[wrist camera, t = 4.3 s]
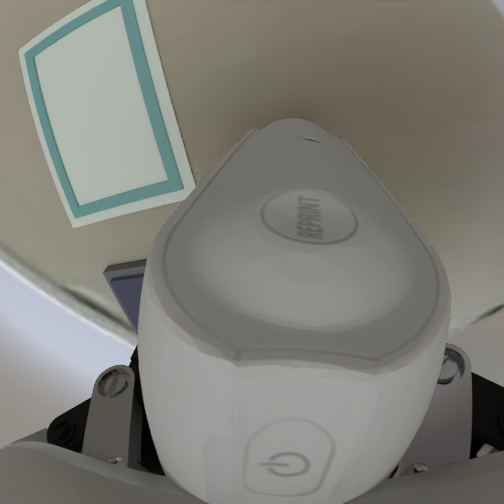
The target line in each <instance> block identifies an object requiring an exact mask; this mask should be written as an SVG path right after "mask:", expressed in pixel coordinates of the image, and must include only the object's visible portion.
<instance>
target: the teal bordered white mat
mask: <svg viewBox="0 0 504 504" xmlns="http://www.w3.org/2000/svg"><path fill="white" fill-rule="evenodd" d="M18 51H19V57H20V62H21V67H22V72H23V77H24V82H25V86H26V91H27V95H28V99H29V103H30V107H31V111H32V114H33V118H34V122H35V125H36V129H37V132H38V135H39V138H40V142H41V145H42V148H43V151H44V154H45V157H46V160H47V163H48V166H49V168H50V171H51V174H52V177H53V179H54V182H55V185H56V187H57V190H58V193H59V195H60V198H61V200H62V203H63V205H64V207H65V210H66V212H67V215H68V217H69V219H70V222H71V224H72V226H73V228H77V227H80V226H84V225H87V224H91V223H95V222H98V221H102V220H106V219H109V218H113V217H117V216H121V215H125V214H129V213H132V212H136V211H140V210H145V209H149V208H153V207H157V206H161V205H165V204H170V203H174V202H178V201H183V200H185V199H186V198H187V197H188V196H189V194H190V193H191V192H192V191H193V189H194V188H195V187H196V183H195V180H194V176H193V173H192V170H191V166H190V163H189V160H188V156H187V153H186V149H185V146H184V143H183V139H182V136H181V132H180V129H179V125H178V122H177V118H176V114H175V111H174V107H173V104H172V100H171V96H170V93H169V89H168V85H167V82H166V78H165V74H164V70H163V67H162V63H161V59H160V55H159V51H158V47H157V43H156V39H155V35H154V31H153V27H152V23H151V19H150V15H149V11H148V7H147V3H146V0H92V1H90V2H88V3H87V4H85V5H83V6H82V7H80V8H78V9H77V10H75V11H73V12H72V13H70V14H68V15H67V16H65V17H64V18H62V19H61V20H59V21H58V22H56V23H55V24H53V25H52V26H50V27H49V28H47V29H46V30H45V31H43V32H42V33H40V34H39V35H38V36H36V37H35V38H34V39H32V40H31V41H30V42H28V43H27V44H26V45H25V46H23V47H22V48H21V49H20V50H18Z"/></svg>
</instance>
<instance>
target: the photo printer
mask: <svg viewBox="0 0 504 504" xmlns="http://www.w3.org/2000/svg"><path fill="white" fill-rule="evenodd" d="M450 314H451V292H450V287H449V282H448V277H447V272H446V270H445V268H444V266H443V264H442V262H441V260H440V258H439V256H438V254H437V253H436V251H435V250H434V248H433V247H432V245H431V244H430V243H429V242H428V240H427V239H426V238H425V236H424V235H423V233H422V232H421V231H420V229H419V228H418V227H417V225H416V224H415V223H414V221H413V220H412V219H411V218H410V216H409V215H408V214H407V212H406V211H405V210H404V209H403V207H402V206H401V205H400V203H399V202H398V201H397V199H396V198H395V197H394V196H393V195H392V193H391V192H390V191H389V190H388V189H387V187H386V186H385V185H384V184H383V183H382V181H381V180H380V179H379V178H378V177H377V176H376V174H375V173H374V172H373V171H372V170H371V169H370V168H369V166H368V165H367V164H366V163H365V162H364V161H363V160H362V158H361V157H360V156H359V155H358V154H357V153H356V152H355V151H354V150H353V148H352V147H351V146H350V145H349V144H348V143H347V142H346V141H345V140H344V139H343V138H342V137H340V136H332V135H330V134H329V133H328V132H327V131H326V130H325V129H323V128H322V127H321V126H319V125H317V124H316V123H313V122H311V121H308V120H305V119H298V118H287V119H281V120H278V121H275V122H273V123H271V124H269V125H267V126H266V127H264V128H263V129H256V128H254V129H251V130H249V131H248V132H247V133H246V134H245V135H244V136H243V137H242V138H241V139H240V140H239V141H238V142H237V143H236V144H235V145H234V146H233V147H232V148H231V149H230V150H229V151H228V152H227V153H226V154H225V155H224V156H223V157H222V159H221V160H220V161H219V162H218V163H217V164H216V165H215V166H214V167H213V168H212V169H211V170H210V171H209V172H208V173H207V175H206V176H205V177H204V178H203V179H202V180H201V181H200V182H199V184H198V185H197V186H196V187H195V188H194V189H193V191H192V192H191V193H190V194H189V196H188V197H187V198H186V199H185V200H184V202H183V203H182V204H181V205H180V206H179V207H178V209H177V210H176V211H175V212H174V213H173V214H172V215H171V217H170V218H169V219H168V220H167V221H166V222H165V224H164V225H163V226H162V228H161V229H160V231H159V233H158V234H157V236H156V238H155V240H154V242H153V244H152V246H151V248H150V250H149V252H148V256H147V262H146V267H145V273H144V278H143V285H142V292H141V299H140V309H139V320H138V358H139V373H140V379H141V386H142V394H143V400H144V407H145V411H146V415H147V420H148V423H149V427H150V431H151V435H152V439H153V442H154V445H155V448H156V451H157V454H158V458H159V461H160V463H161V465H162V468H163V470H164V473H165V475H166V477H169V478H170V479H171V480H172V481H173V482H174V483H175V484H176V485H178V486H179V487H180V488H181V489H183V490H185V491H186V492H188V493H190V494H191V495H193V496H195V497H197V498H199V499H201V500H203V501H205V502H207V503H209V504H342V503H345V502H347V501H350V500H352V499H355V498H357V497H359V496H361V495H363V494H365V493H367V492H369V491H370V490H372V489H374V488H375V487H376V486H378V485H379V484H381V483H382V482H383V481H384V480H385V479H387V478H388V477H389V476H390V474H391V473H392V472H393V470H394V469H395V467H396V466H397V465H398V463H399V461H400V460H401V458H402V457H403V455H404V454H405V452H406V450H407V449H408V447H409V445H410V444H411V442H412V440H413V438H414V436H415V434H416V433H417V431H418V429H419V427H420V425H421V423H422V421H423V419H424V416H425V414H426V412H427V409H428V407H429V404H430V402H431V399H432V396H433V393H434V390H435V387H436V384H437V381H438V378H439V374H440V371H441V367H442V363H443V358H444V352H445V347H446V341H447V335H448V328H449V321H450Z"/></svg>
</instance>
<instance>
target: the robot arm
mask: <svg viewBox="0 0 504 504" xmlns="http://www.w3.org/2000/svg"><path fill="white" fill-rule="evenodd" d="M0 504H209V503H207V502H205V501H203V500H201V499H199V498H197V497H195V496H193V495H191V494H190V493H188V492H186V491H185V490H183V489H181V488H180V487H179V486H178V485H176V484H175V483H174V482H173V481H172V480H171V479H170V478H169V477H166V475H165V473H164V470H163V468H162V465H161V463H160V461H159V458H158V454H157V451H156V448H155V445H154V442H153V439H152V435H151V431H150V427H149V423H148V420H147V415H146V411H145V407H144V400H143V394H142V386H141V379H140V373H139V358H138V344H137V346H136V348H135V350H134V353H133V354H132V356H131V363H130V365H129V367H128V366H126V365H116V366H112V367H110V368H108V369H106V370H105V371H104V372H103V373H101V374H100V375H99V377H98V378H97V380H96V382H95V384H94V388H93V393H92V397H91V398H89V399H88V400H86V401H84V402H82V403H81V404H79V405H77V406H75V407H74V408H72V409H70V410H69V411H67V412H65V413H63V414H62V415H60V416H58V417H57V418H55V419H54V420H53V421H52V423H51V424H50V426H49V428H48V429H46V428H45V429H43V430H40V431H38V432H36V433H34V434H31V435H29V436H26V437H24V438H22V439H19V440H17V441H14V442H13V443H11V444H9V445H6V446H5V447H3V448H2V449H0ZM342 504H504V387H502V386H500V385H498V384H496V383H494V382H492V381H489V380H487V379H485V378H483V377H481V376H479V375H477V374H475V373H473V372H471V364H470V360H469V357H468V356H467V354H466V353H465V352H464V351H463V350H462V349H461V348H459V347H457V346H455V345H453V344H448V343H446V347H445V352H444V358H443V363H442V367H441V371H440V374H439V378H438V381H437V384H436V387H435V390H434V393H433V396H432V399H431V402H430V404H429V407H428V409H427V412H426V414H425V416H424V419H423V421H422V423H421V425H420V427H419V429H418V431H417V433H416V434H415V436H414V438H413V440H412V442H411V444H410V445H409V447H408V449H407V450H406V452H405V454H404V455H403V457H402V458H401V460H400V461H399V463H398V465H397V466H396V467H395V469H394V470H393V472H392V473H391V474H390V476H389V477H388V478H387V479H385V480H384V481H383V482H382V483H381V484H379V485H378V486H376V487H375V488H374V489H372V490H370V491H369V492H367V493H365V494H363V495H361V496H359V497H357V498H355V499H352V500H350V501H347V502H345V503H342Z"/></svg>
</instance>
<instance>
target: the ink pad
mask: <svg viewBox="0 0 504 504" xmlns="http://www.w3.org/2000/svg"><path fill="white" fill-rule="evenodd" d="M146 262H147V260H141V261H135V262H129V263H123V264H117V265H111V266H108V267H107V268H106V269H105V271H104V272H103V274H104V276H105V278H106V280H107V282H108V283H109V285H110V287H111V289H112V291H113V293H114V295H115V297H116V298H117V300H118V302H119V304H120V306H121V307H122V309H123V311H124V313H125V315H126V316H127V318H128V320H129V321H130V323H131V325H132V327H133V328H134V330H135V332H136V333H137V335H138V320H139V309H140V299H141V292H142V285H143V278H144V273H145V267H146Z"/></svg>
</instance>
